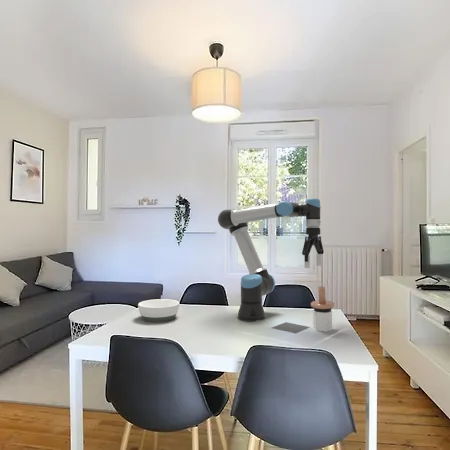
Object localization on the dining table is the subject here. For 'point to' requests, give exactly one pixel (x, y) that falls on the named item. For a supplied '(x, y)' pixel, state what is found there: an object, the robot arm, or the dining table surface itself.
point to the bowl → (158, 310)
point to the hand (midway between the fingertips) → (313, 266)
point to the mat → (290, 327)
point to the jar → (322, 319)
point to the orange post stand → (322, 300)
